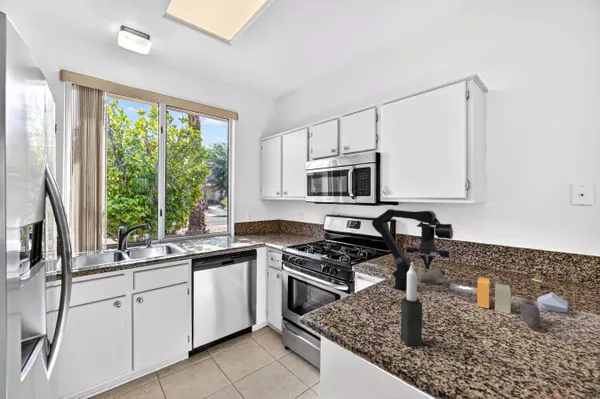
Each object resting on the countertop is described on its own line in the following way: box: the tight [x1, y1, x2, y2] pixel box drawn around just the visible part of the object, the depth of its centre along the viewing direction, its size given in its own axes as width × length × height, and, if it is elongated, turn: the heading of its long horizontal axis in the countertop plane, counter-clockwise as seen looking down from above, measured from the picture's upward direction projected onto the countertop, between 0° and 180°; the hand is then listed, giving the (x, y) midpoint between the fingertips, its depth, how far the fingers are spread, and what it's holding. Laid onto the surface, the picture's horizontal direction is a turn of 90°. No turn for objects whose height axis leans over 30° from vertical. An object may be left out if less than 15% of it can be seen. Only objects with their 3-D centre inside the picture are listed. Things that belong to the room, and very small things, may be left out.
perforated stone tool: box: [519, 299, 541, 330], centre depth 97 cm, size 15×5×7 cm, turn 144°
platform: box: [532, 273, 545, 290], centre depth 141 cm, size 12×18×7 cm, turn 133°
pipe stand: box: [449, 282, 512, 314], centre depth 116 cm, size 22×13×9 cm, turn 54°
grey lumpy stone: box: [416, 267, 452, 285], centre depth 146 cm, size 16×9×15 cm
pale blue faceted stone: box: [536, 291, 568, 313], centre depth 111 cm, size 9×7×13 cm
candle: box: [400, 261, 423, 347], centre depth 83 cm, size 5×5×25 cm
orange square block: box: [476, 276, 490, 309], centre depth 115 cm, size 4×10×10 cm, turn 144°
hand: (427, 269), depth 127 cm, fingers closed
